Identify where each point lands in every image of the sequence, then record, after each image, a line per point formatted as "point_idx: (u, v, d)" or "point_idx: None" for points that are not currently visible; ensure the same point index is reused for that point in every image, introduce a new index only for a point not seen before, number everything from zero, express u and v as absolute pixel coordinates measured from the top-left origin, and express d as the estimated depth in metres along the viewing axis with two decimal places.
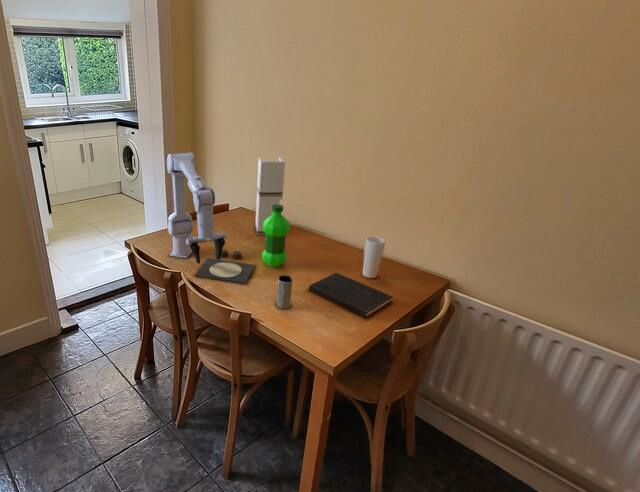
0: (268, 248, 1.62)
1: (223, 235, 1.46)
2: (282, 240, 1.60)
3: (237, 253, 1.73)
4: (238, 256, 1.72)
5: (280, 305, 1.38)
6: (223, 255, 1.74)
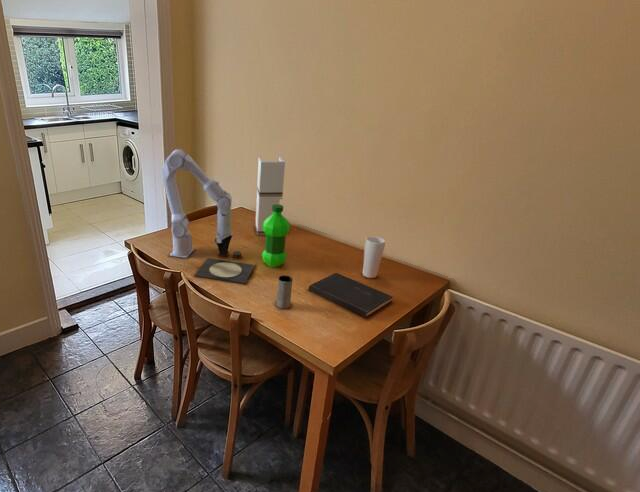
0: (268, 248, 1.62)
1: None
2: (282, 240, 1.60)
3: (237, 253, 1.73)
4: (238, 256, 1.72)
5: (280, 305, 1.38)
6: (223, 255, 1.74)
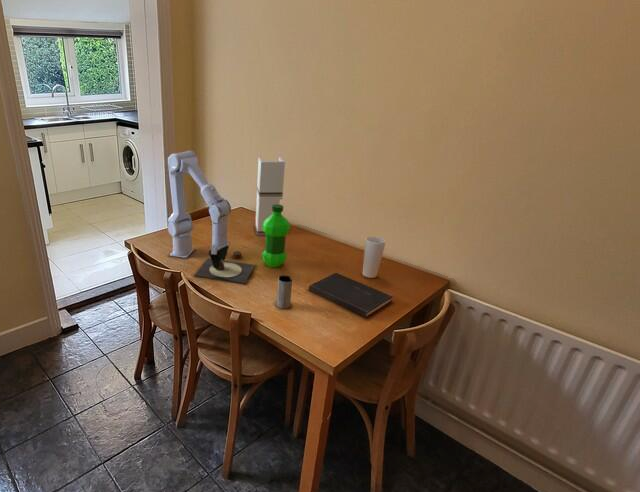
0: (268, 248, 1.62)
1: None
2: (282, 240, 1.60)
3: (237, 253, 1.73)
4: (238, 256, 1.72)
5: (280, 305, 1.38)
6: (219, 269, 1.61)
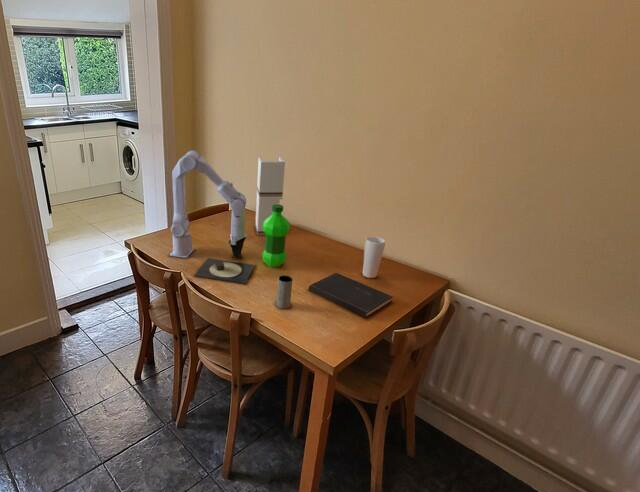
0: (268, 248, 1.62)
1: None
2: (282, 240, 1.60)
3: None
4: (238, 256, 1.72)
5: (280, 305, 1.38)
6: (219, 269, 1.61)
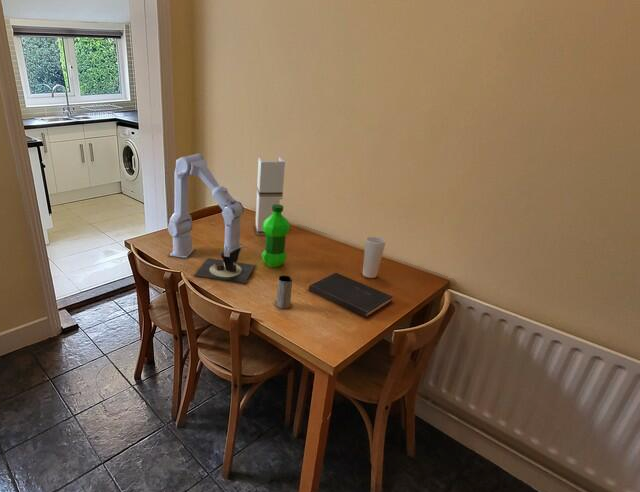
0: (268, 248, 1.62)
1: None
2: (282, 240, 1.60)
3: None
4: (233, 269, 1.60)
5: (280, 305, 1.38)
6: (219, 269, 1.61)
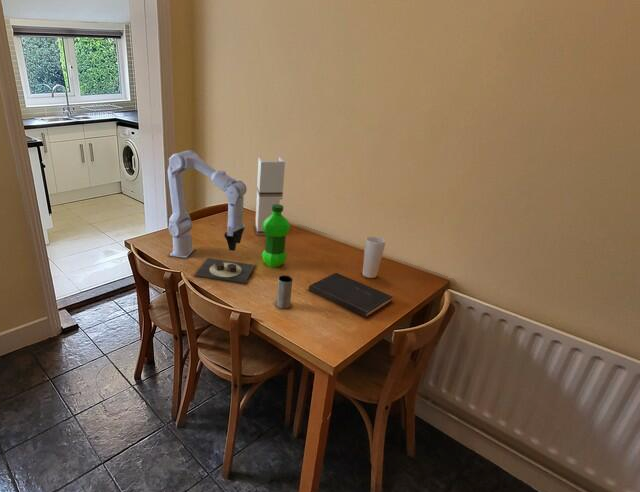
0: (268, 248, 1.62)
1: None
2: (282, 240, 1.60)
3: (232, 266, 1.60)
4: (233, 269, 1.60)
5: (280, 305, 1.38)
6: (219, 269, 1.61)
